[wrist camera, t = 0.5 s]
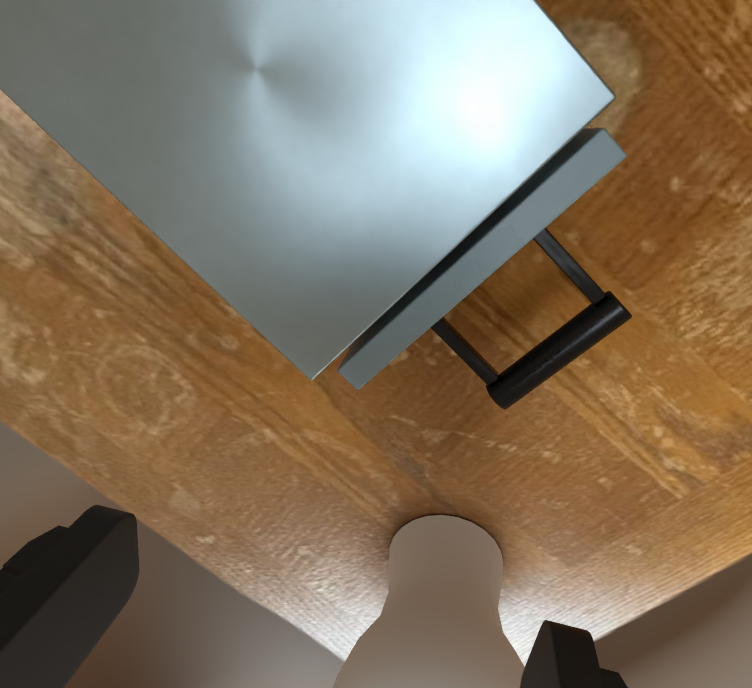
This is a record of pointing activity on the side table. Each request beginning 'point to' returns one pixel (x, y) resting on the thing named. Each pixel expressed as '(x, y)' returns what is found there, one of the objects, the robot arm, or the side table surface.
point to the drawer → (483, 257)
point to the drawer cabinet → (303, 135)
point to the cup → (437, 614)
